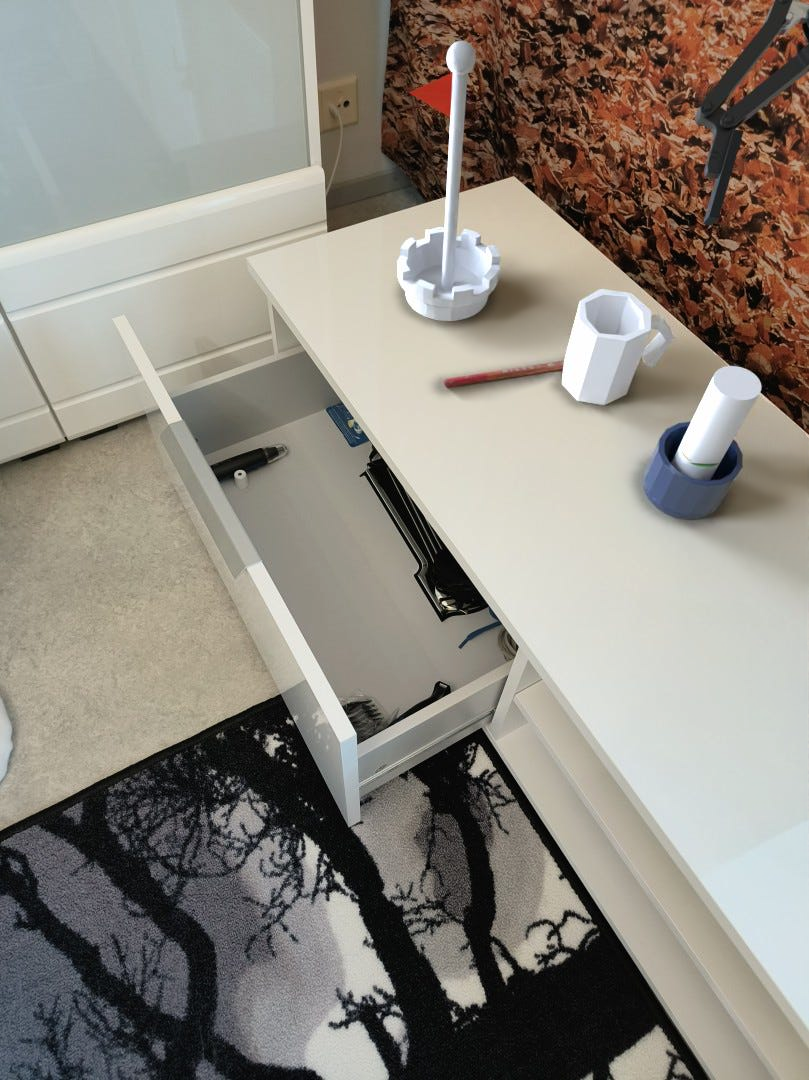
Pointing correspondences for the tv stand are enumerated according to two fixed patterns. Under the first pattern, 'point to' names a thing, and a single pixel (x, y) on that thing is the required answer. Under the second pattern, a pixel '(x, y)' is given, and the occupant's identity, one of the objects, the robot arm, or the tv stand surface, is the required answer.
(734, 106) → the robot arm
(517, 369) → the pencil
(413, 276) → the flag stand
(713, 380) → the tube
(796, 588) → the tv stand surface
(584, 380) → the mug
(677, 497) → the cup
